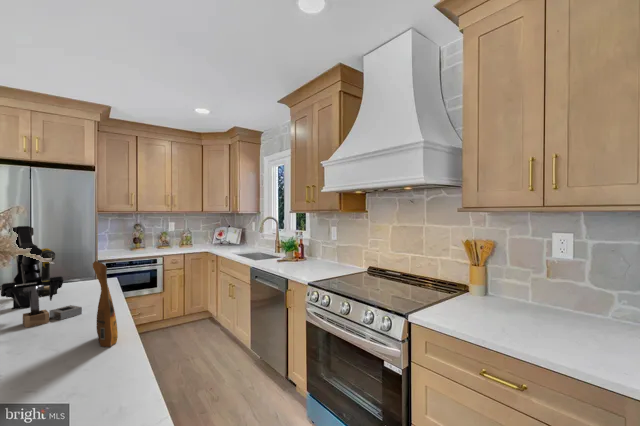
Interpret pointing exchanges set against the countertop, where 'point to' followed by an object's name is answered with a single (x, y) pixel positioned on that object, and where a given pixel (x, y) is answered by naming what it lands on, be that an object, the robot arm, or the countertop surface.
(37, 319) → the wooden square frame
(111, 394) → the countertop surface
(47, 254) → the cordless drill
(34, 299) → the chuck key
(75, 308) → the block
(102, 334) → the curved wooden sculpture
